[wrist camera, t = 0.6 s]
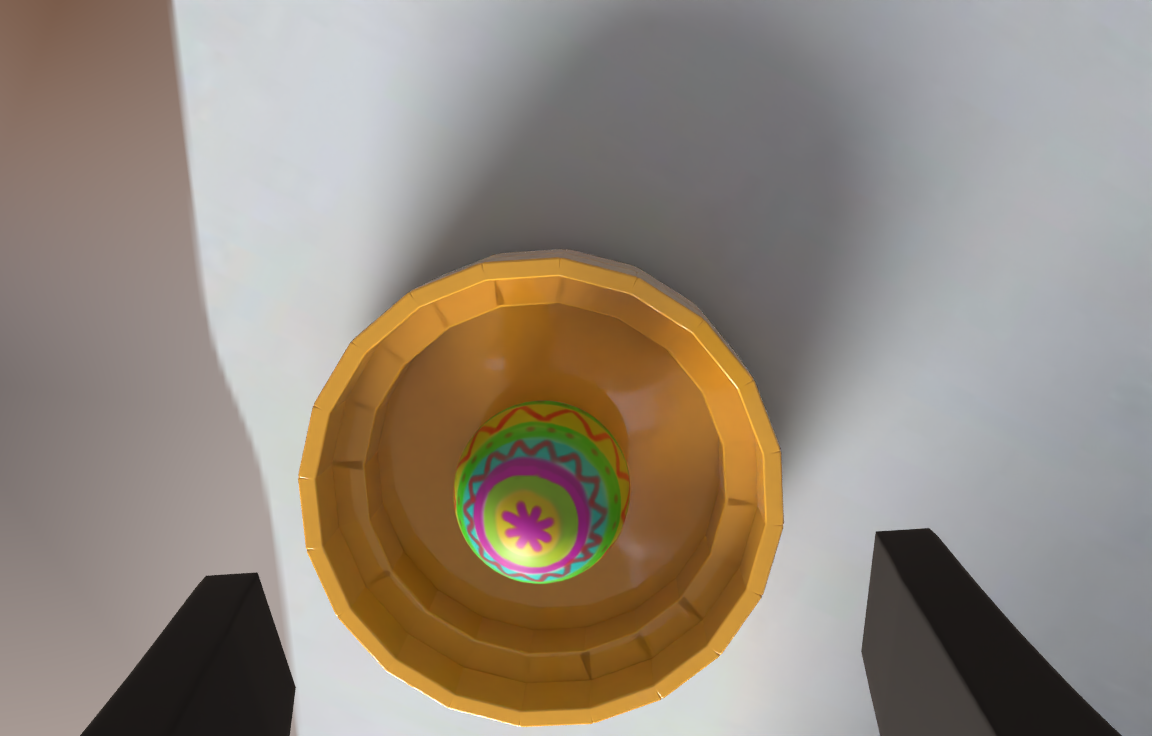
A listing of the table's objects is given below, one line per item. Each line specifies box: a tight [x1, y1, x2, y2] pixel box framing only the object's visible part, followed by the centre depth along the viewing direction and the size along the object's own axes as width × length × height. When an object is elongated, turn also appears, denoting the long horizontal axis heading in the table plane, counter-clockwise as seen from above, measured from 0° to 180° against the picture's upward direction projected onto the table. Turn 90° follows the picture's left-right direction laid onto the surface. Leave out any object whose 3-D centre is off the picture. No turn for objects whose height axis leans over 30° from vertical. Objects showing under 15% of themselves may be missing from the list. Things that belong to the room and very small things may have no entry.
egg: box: [453, 400, 630, 584], centre depth 30 cm, size 5×5×6 cm
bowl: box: [298, 249, 784, 727], centre depth 31 cm, size 13×13×4 cm
